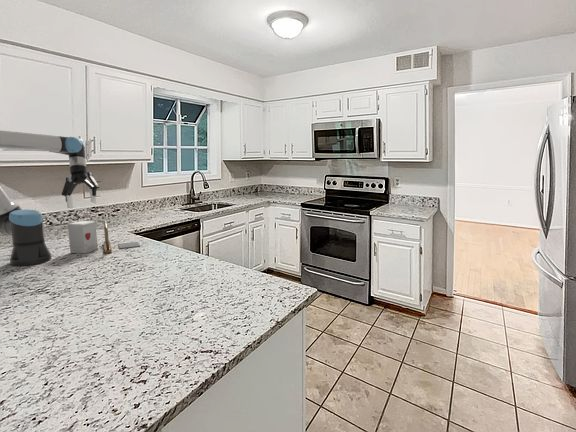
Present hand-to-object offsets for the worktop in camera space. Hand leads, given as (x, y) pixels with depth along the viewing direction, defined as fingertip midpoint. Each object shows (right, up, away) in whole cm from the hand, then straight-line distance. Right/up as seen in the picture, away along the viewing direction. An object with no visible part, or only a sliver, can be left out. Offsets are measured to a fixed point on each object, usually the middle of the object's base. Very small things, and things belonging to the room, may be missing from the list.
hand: (81, 205), depth 176 cm
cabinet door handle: (+12, -23, +3) cm, 26 cm away
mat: (+21, -22, +8) cm, 32 cm away
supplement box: (+3, -24, -2) cm, 24 cm away
